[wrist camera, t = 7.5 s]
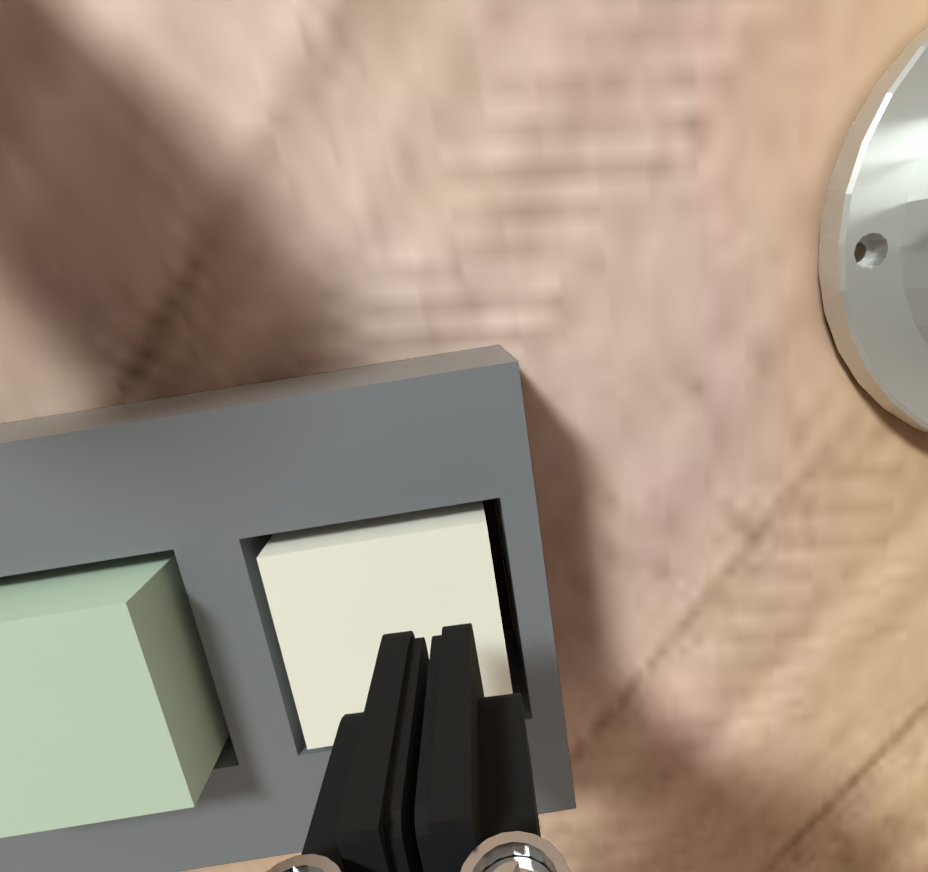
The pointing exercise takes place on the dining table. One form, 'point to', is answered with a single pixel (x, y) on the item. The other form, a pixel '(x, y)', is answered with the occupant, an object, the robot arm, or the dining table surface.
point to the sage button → (102, 695)
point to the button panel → (237, 572)
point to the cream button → (377, 602)
